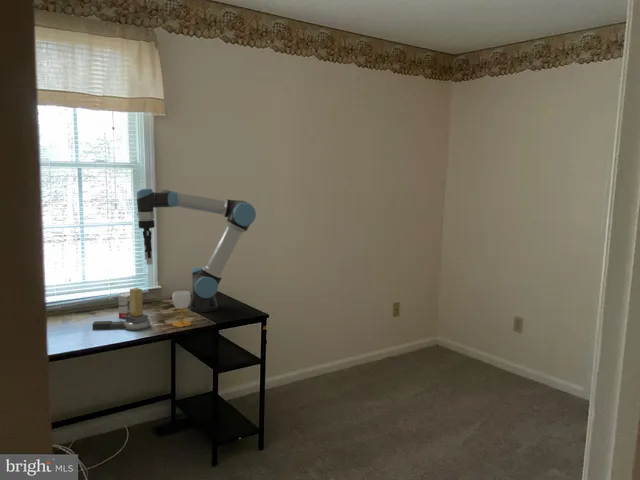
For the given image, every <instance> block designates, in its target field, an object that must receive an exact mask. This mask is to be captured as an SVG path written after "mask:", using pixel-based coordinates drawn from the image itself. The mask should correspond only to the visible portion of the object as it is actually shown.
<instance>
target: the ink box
mask: <svg viewBox="0 0 640 480" xmlns="http://www.w3.org/2000/svg"><path fill="white" fill-rule="evenodd" d="M117 298H118V299H117V300H118V318H119V319H126V315H130V314H131V310H130V291H126V292H124V293H121V294H119V295H118V297H117Z"/></svg>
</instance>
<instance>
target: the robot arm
mask: <svg viewBox="0 0 640 480" xmlns="http://www.w3.org/2000/svg"><path fill="white" fill-rule="evenodd" d="M136 203H137V213H136V216H137V219H138V228H139V229H143V230H142V236H143V245H144V259H145V260H146V266H147V265H153V253H152V251H153V248H152V230H150V229H153V228H155V220H154V219H155V210H154V209H155V208H156V209H157V208H175V207H176V208H181V209H182V208H183V209H189V210H194V211H200V212H206V213H212V214H217V215H222V216H223V217H224V218H227V219H226V224H227V226H226V228H225V229H224V231H223V233H222V235H221V236H220V239H219V241H218V243H217V245H216V247H215V248H214V251H213V252H212V254H211V256H210V258H209V260H208V262H207V263H206V265H205V266H201V267H200V266H199V267H198V266H197V267H194V268H192V271H191V276H192V277H191V281H192V286H191V288H192V289H191V290H192V291H191V292H192V294H191V300H190V304H189V306H188V308H189V310H190V311H191V312H197V313H207V312H213V311H216V310H217V309H218V302H217V301H218V300H217V298H216V296H215V295H216V294H217V292H218V290H219V284H220V282H221V280H222V279H223V276H222V272H223V270H224V269H225V266H226V265H227V264H228V261H229V260H230V257H231V255H232V253H233V251H234V249H235V248H236V245H237V244H238V242H239V240H240V238H241V236H242V234H243V233H245V232H247V231H248V229H249V228H250V225H252V224H253V223H254V221H255V220H256V216H257V215H256V214H257V213H256V210H255V208H254V206H253V205H252V204H251V203H250V202H247V201H245V200H240V199H239V200H236V199H235V200H233V199H225V200H222V199H216V198H211V197H205V196H199V195H194V194H188V193H183V192H178V191H172V190H169V189H163V190H161V191H159V192H154V191H153V189H152V188H139V189H137V190H136Z"/></svg>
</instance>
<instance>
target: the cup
mask: <svg viewBox="0 0 640 480" xmlns="http://www.w3.org/2000/svg"><path fill="white" fill-rule="evenodd" d="M171 297H172V298H171V299H172V303H173V305H174V307H175V308H176V310H177V311H180V320H179V321H175V322H173V323H172V326H174V327H176V328H184V327H183V326H186V327H189V326H191V325H192V322H190V321H187V320H183V319H184V318H183V313H184V312H183V311H184V310H187V308H189V304H190V301H191V298H192V294H191V291H187V290H177V291H174V292H172V295H171Z"/></svg>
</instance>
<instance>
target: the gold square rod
mask: <svg viewBox="0 0 640 480" xmlns="http://www.w3.org/2000/svg"><path fill="white" fill-rule="evenodd" d="M129 292H130V310H131V316H132V317H135V318H136V317H140V316H143V314H144V313H143V312H144V311H143V310H144V308H143V305H144V304H143V289H142V288H138V287H135V288H134V287H133V288H131V289H130V288H129Z"/></svg>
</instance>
